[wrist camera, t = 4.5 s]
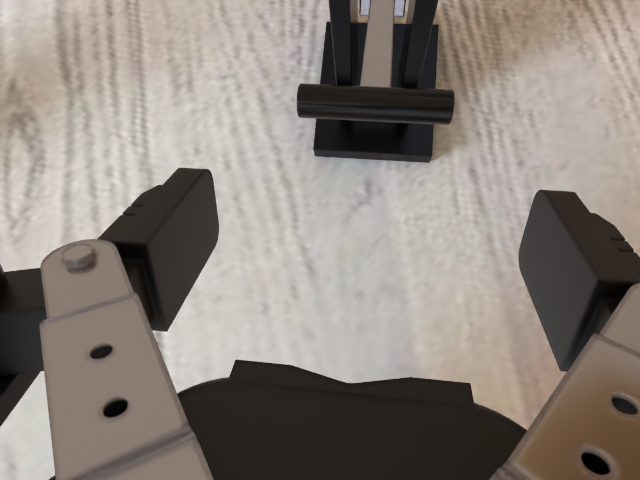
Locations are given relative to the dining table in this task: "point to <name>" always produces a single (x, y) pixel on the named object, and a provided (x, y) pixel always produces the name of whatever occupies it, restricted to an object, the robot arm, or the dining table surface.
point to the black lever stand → (407, 72)
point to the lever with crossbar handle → (376, 82)
